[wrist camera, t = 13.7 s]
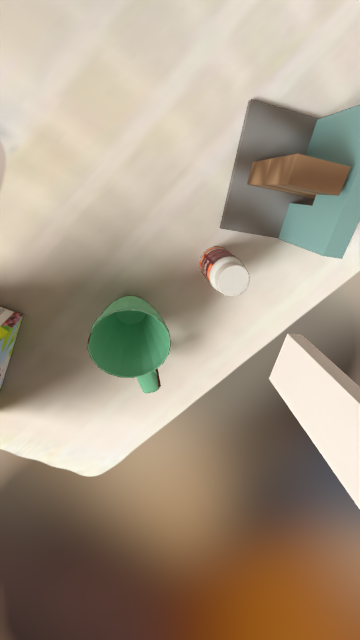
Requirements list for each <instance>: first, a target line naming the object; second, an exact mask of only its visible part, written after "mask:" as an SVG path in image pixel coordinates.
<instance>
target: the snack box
mask: <svg viewBox="0 0 360 640" xmlns="http://www.w3.org/2000/svg"><path fill="white" fill-rule="evenodd" d="M23 316H24V314H20V313H17V312H14V311H11V310H8V309H5V308H3V307H0V389H1V386H2V383H3V380H4V377H5V373H6V370H7V367H8V364H9V360H10V357H11V354H12V351H13V347H14V344H15V341H16V338H17V334H18V331H19V328H20V325H21V322H22V318H23Z"/></svg>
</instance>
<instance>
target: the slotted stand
mask: <svg viewBox="0 0 360 640" xmlns="http://www.w3.org/2000/svg"><path fill="white" fill-rule="evenodd" d="M317 120H318V118H314V117H311V116H307V115H304V114H301V113H297V112H294V111H290V110H287V109H283V108H280V107H277V106H273V105H270V104H266V103H263V102H259V101H256V100H252V99H251V100H250V101H249V102H248V107H247V111H246V115H245V120H244V124H243V129H242V133H241V137H240V142H239V146H238V150H237V155H236V159H235V164H234V168H233V172H232V177H231V181H230V186H229V190H228V194H227V199H226V203H225V208H224V212H223V216H222V221H221V225H220V228H221V229H227V230H233V231H239V232H245V233H251V234H257V235H263V236H269V237H275V238H279V235H280V232H281V229H282V226H283V223H284V220H285V217H286V213H287V210H288V207H289V204H290V203H293V204H301V205H310V206H312V205H313V203H314V200H315V197H316V194H317V195H335V196H339V195H340V192H341V190H342V187H343V185H344V182H345V180H346V177H347V175H348V172H349V170H350V166H346V165H342V164H338V163H334V162H330V161H326V160H322V159H318V158H314V157H310V156H306V153H307V150H308V147H309V144H310V140H311V137H312V134H313V131H314V128H315V125H316V122H317Z"/></svg>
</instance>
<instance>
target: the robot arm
mask: <svg viewBox="0 0 360 640" xmlns="http://www.w3.org/2000/svg"><path fill="white" fill-rule="evenodd" d="M269 379H270V381H271V382H272V384H273V385H274V387H275V388H276V389H277V391H278V392H279V393H280V395H281V397H282V398H283V399H284V401H285V402H286V403H287V405H288V407H289V408H290V410H291V411H292V413H293V414H294V415H295V417H296V418H297V420H298V421H299V422H300V424H301V425H302V427H303V428H304V430H305V431H306V433H307V434H308V435H309V437H310V438H311V439H312V441H313V443H314V444H315V446H316V447H317V448H318V450H319V451H320V453H321V454H322V456H323V457H324V458H325V460H326V461H327V463H328V464H329V465H330V467H331V469H332V470H333V471H334V473H335V474H336V476H337V477H338V479H339V480H340V482H341V483H342V484H343V486H344V487H345V489H346V490H347V492H348V493H349V494H350V496H351V497H352V499H353V500H354V502H355V503H356V505H357V506H358V507H359V509H360V387H359V386H358V385H357V384H356V383H354V381H352V380H351V379H350V378H349V377H348V376H347V375H346V374H345V373H343V372H342V371H341V370H340V369H339V368H338V367H337V366H336V365H334V364H333V363H332V362H331V361H330V360H329V359H328V358H327V357H326V356H325V355H323V354H322V353H321V352H320V351H319V350H318V349H317V348H316V347H314V346H313V345H312V344H311V343H310V342H309V341H308V340H307V339H305V337H303V336H302V335H298V334H287V336H286V339H285V341H284V343H283V346H282V348H281V351H280V353H279V356H278V358H277V361H276V363H275V365H274V368H273V370H272V373H271V375H270V378H269Z"/></svg>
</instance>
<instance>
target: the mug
mask: <svg viewBox="0 0 360 640" xmlns="http://www.w3.org/2000/svg"><path fill="white" fill-rule="evenodd" d="M170 346H171V341H170V335H169V330H168V328H167V326H166V325H165V323H164V321H163V320H162V318H161V317H160V315H159V314H158V312H157V311H156V310H155V309H154V308H153V307H152V306H151V305H150V304H148V303H147V302H146V301H145V300H143V299H141V298H139V297H136V296H125V297H122V298H120V299H118V300H116V301H114V302H113V303H111V304H110V305H109V306H108V307H107V308H106V309H105V310H104V312H103V313H102V314H101V315H100V316H99V317H98V319H97V320H96V321H95V322H94V324H93V326H92V329H91V331H90V336H89V338H88V346H87V348H88V351H89V354H90V357H91V359H92V360H93V361H94V363H95V364H96V365H97V366H98V367H99V368H100V369H102V370H103V371H105V372H107V373H108V374H111V375H114V376H118V377H126V378H134V377H137V379H138V381H139V384H140V386H141V388H142V390H143V392H144V393H151V392H155V391H156V390H158V389H159V387H160V386H161V385H160V380H159V373H158V369H157V368H158V367H159V366H160V365H161V364H163V362H164V361H165V359H166V358H167V356H168V354H169V350H170Z"/></svg>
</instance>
